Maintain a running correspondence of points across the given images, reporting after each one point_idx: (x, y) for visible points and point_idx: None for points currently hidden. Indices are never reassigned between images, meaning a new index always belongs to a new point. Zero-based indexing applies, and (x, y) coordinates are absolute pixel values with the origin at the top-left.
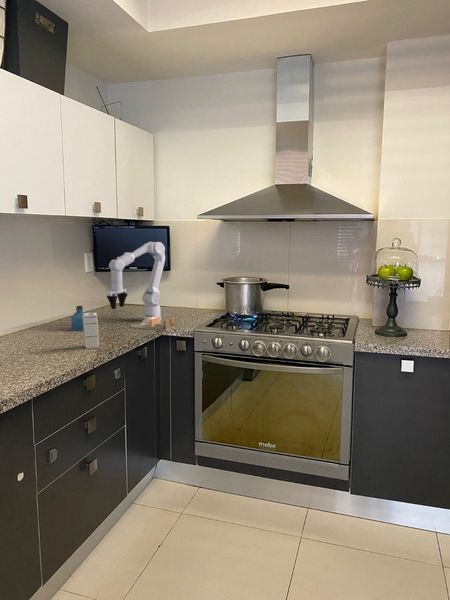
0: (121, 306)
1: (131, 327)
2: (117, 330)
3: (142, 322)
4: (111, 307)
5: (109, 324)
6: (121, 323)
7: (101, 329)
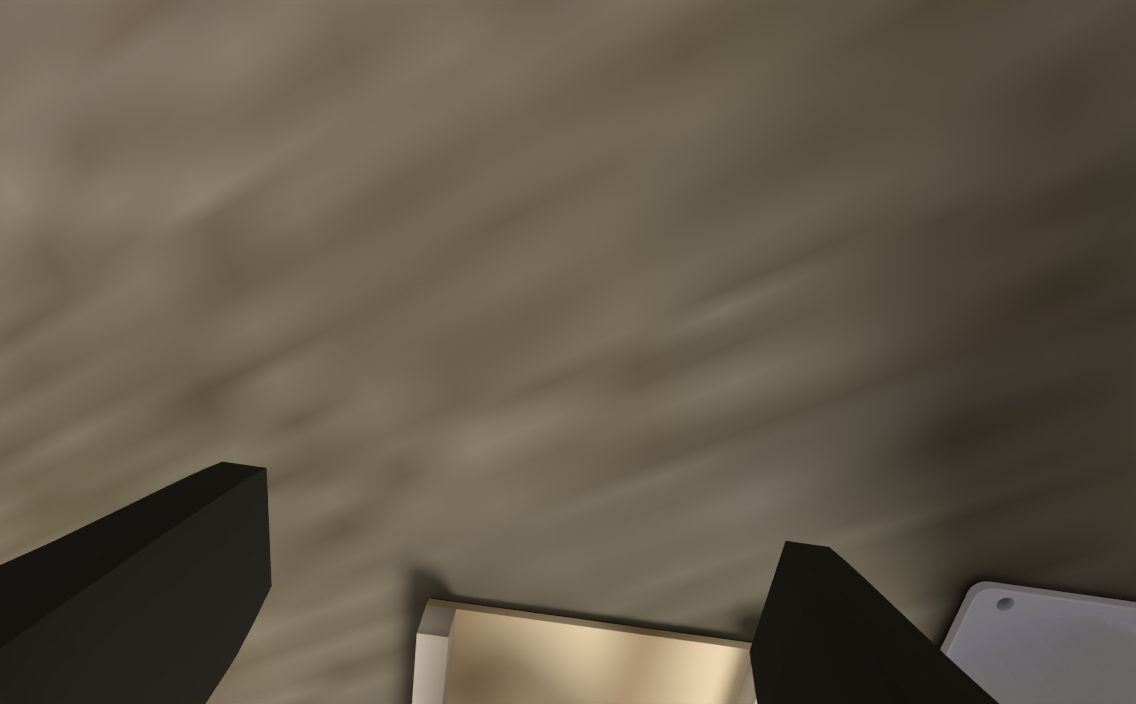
0: (770, 609)
1: (427, 601)
2: None
3: None
4: (179, 492)
5: (579, 128)
6: (725, 325)
7: (103, 202)
